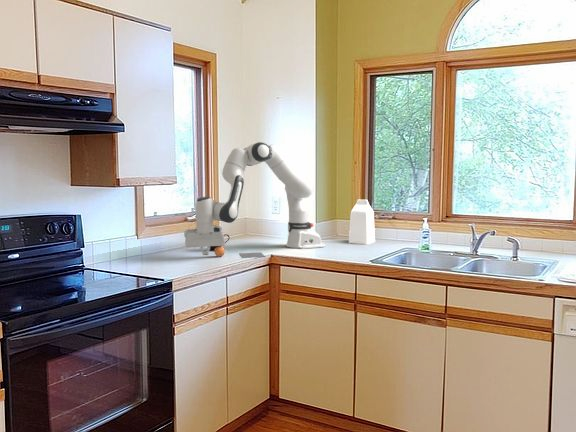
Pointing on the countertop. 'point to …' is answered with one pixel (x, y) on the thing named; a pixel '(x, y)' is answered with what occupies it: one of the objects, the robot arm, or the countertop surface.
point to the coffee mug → (216, 246)
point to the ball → (219, 251)
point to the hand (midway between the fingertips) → (205, 254)
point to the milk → (362, 223)
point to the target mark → (251, 255)
